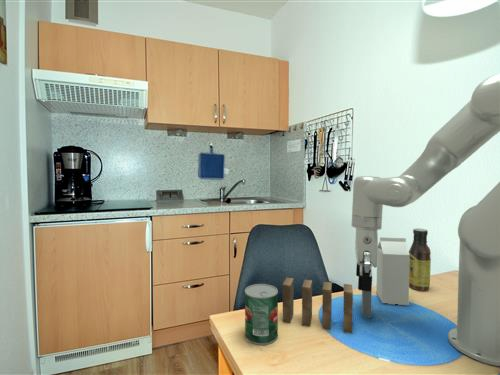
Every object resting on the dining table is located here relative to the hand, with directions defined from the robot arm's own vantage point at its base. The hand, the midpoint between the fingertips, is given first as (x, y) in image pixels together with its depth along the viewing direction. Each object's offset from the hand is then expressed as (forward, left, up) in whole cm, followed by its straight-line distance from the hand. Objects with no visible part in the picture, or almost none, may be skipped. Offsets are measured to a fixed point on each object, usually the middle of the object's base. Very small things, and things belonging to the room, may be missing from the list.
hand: (363, 283), depth 77 cm
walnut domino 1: (+19, +9, -8) cm, 23 cm away
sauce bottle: (-19, -23, -8) cm, 31 cm away
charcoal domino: (-1, 0, -8) cm, 8 cm away
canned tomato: (+24, +19, -8) cm, 32 cm away
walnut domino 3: (+9, +9, -8) cm, 15 cm away
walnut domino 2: (+14, +9, -8) cm, 19 cm away
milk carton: (-9, -11, -8) cm, 16 cm away
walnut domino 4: (+4, +9, -8) cm, 13 cm away
